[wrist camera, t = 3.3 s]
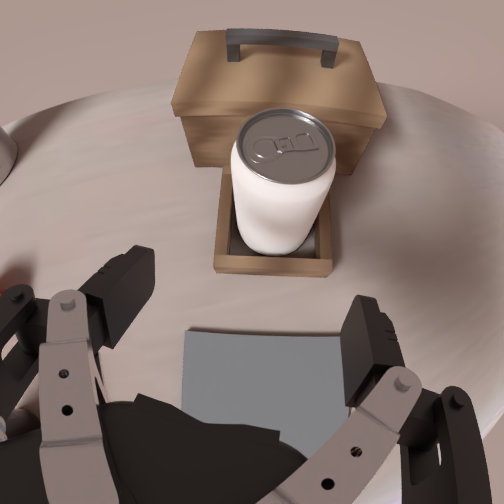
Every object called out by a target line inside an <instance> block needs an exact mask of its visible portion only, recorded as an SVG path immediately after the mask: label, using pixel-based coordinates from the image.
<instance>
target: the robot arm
mask: <svg viewBox="0 0 504 504" xmlns="http://www.w3.org/2000/svg"><path fill="white" fill-rule="evenodd" d="M17 152H18V147H17V144H16V143H15V142H14V141H13V140H12V139H11V138H10V136H9V135H8V134H7V133H6V132H5V131H4V130H3V129H2V127H1V126H0V184H1V183H2V182H3V181H4V180H5V178H6V177H7V175H8V174H9V172H10V170H11V169H12V167H13V165H14V162H15V160H16V157H17ZM154 286H155V254H154V250H153V249H151V248H147V247H143V246H138V245H134V246H133V247H132V248H131V249H130V250H129V251H128V252H127V253H126V254H120V255H118V256H116V257H114V258H111V259H110V260H109V261H108V262H107V263H106V264H105V265H104V267H101V268H100V269H99V270H98V272H96V273H95V274H94V275H93V276H92V277H91V278H90V279H89V280H88V281H86V282H85V283H84V284H83V285H82V286H81V287H80V288H79V289H78V290H64V291H61V292H59V293H57V294H55V295H54V296H53V297H52V298H51V300H48V299H39V298H35V295H34V292H33V289H32V288H31V287H30V286H28V285H25V284H20V285H15V286H13V287H11V288H9V289H8V290H6V291H5V292H4V293H3V294H2V295H1V296H0V504H352V503H353V501H354V500H355V499H356V498H357V497H358V495H359V494H360V493H361V492H362V490H363V489H364V488H365V487H366V485H367V484H368V483H369V481H370V480H371V479H372V478H373V476H374V475H375V473H376V472H377V471H378V469H379V468H380V467H381V465H382V464H383V462H384V461H385V459H386V458H387V456H388V455H389V453H390V452H391V450H392V449H393V447H394V446H395V444H396V443H397V444H400V454H401V477H402V504H492V497H491V489H490V482H489V475H488V469H487V463H486V458H485V454H484V449H483V444H482V439H481V435H480V431H479V427H478V423H477V419H476V415H475V412H474V408H473V405H472V402H471V399H470V397H469V396H468V394H467V393H466V392H465V391H464V390H462V389H461V388H459V387H456V386H449V387H446V388H445V389H444V390H443V391H442V393H441V394H437V393H435V392H432V391H429V390H426V389H424V388H422V385H421V381H420V379H419V378H418V376H417V375H416V374H415V373H414V372H412V371H411V370H409V369H407V368H406V367H405V364H404V360H403V356H402V353H401V349H400V346H399V343H398V342H397V340H398V339H397V336H396V334H395V330H394V327H393V323H392V321H391V320H390V319H389V318H388V316H387V315H386V314H385V313H383V312H380V310H379V307H378V304H377V300H376V299H375V298H372V297H367V296H362V295H356V296H355V298H354V300H353V302H352V305H351V307H350V309H349V312H348V314H347V316H346V319H345V321H344V323H343V326H342V329H341V333H340V345H341V356H342V368H343V382H344V398H345V407H355V408H356V410H355V411H354V412H353V413H352V414H351V415H350V416H349V418H348V419H347V420H346V421H345V422H344V423H343V424H342V425H341V426H340V428H339V429H338V430H337V431H336V432H335V433H334V434H333V435H332V436H331V437H330V438H329V439H328V440H327V441H326V442H325V443H324V444H323V445H322V446H321V447H320V448H319V449H318V450H317V451H316V452H315V453H314V454H313V455H312V456H311V457H310V458H309V459H307V457H306V456H304V455H303V454H302V453H301V452H300V451H298V450H297V449H295V448H294V447H292V446H290V445H288V444H286V443H285V442H282V441H280V440H279V438H280V431H279V430H273V429H267V428H262V427H257V426H251V425H247V424H214V423H204V422H202V421H199V420H198V419H196V418H194V417H192V416H190V415H188V414H187V413H185V412H183V411H181V410H180V409H178V408H176V407H174V406H173V405H171V404H168V403H165V402H162V401H159V400H156V399H153V398H150V397H148V396H145V395H142V394H139V393H138V395H137V397H136V398H135V400H134V402H131V401H115V402H109V399H108V395H107V391H106V386H105V381H104V376H103V370H102V365H101V359H100V353H99V349H100V348H101V347H102V345H103V346H106V347H108V348H111V349H114V347H115V346H116V344H117V343H118V341H119V340H120V338H121V337H122V336H123V334H124V333H125V331H126V330H127V329H128V327H129V326H130V324H131V323H132V322H133V320H134V319H135V317H136V316H137V315H138V313H139V312H140V310H141V309H142V308H143V306H144V305H145V304H146V302H147V301H148V300H149V298H150V297H151V295H152V293H153V290H154ZM14 334H16V337H17V339H18V342H17V343H16V345H15V346H14V347H13V348H12V349H11V351H10V352H9V353H8V355H7V356H6V357H5V358H4V360H3V361H2V358H1V352H2V349H3V347H4V346H5V344H6V343H7V342H8V341H9V340H10V338H11V337H12V336H13V335H14ZM38 372H39V405H40V420H41V428H40V429H37V430H34V431H31V432H29V433H26V434H23V435H20V436H17V437H14V438H11V439H8V440H7V436H6V434H5V432H6V425H5V423H6V421H7V419H8V418H9V416H10V414H11V413H12V411H13V410H14V408H15V406H16V405H17V403H18V402H19V400H20V398H21V397H22V395H23V394H24V392H25V391H26V389H27V388H28V386H29V385H30V383H31V382H32V380H33V379H34V377H35V376H36V374H37V373H38ZM438 443H439V444H440V451H441V465H440V464H439V456H438V448H437V444H438Z"/></svg>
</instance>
